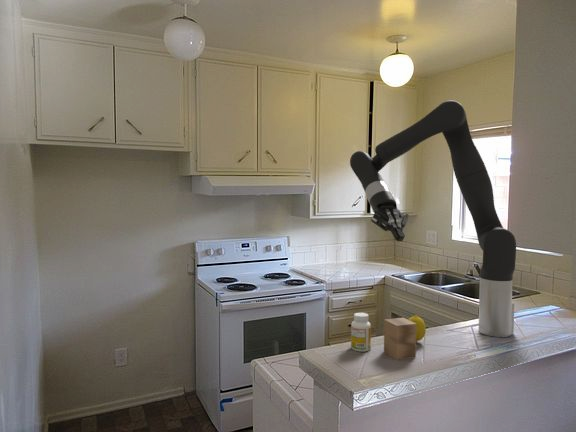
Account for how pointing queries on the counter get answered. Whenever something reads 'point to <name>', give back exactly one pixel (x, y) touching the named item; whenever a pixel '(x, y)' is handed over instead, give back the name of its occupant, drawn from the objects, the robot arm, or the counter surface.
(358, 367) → the counter surface
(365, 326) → the supplement bottle
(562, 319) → the counter surface
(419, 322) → the lemon
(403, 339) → the brown wooden block
